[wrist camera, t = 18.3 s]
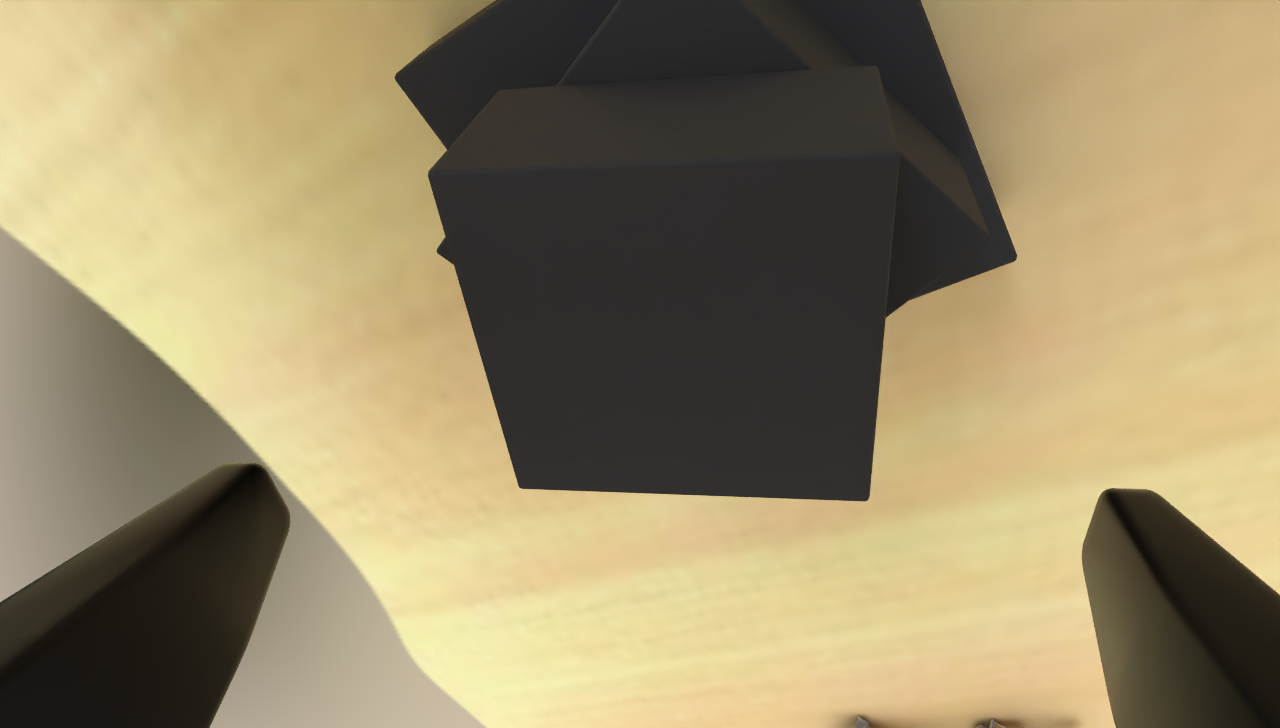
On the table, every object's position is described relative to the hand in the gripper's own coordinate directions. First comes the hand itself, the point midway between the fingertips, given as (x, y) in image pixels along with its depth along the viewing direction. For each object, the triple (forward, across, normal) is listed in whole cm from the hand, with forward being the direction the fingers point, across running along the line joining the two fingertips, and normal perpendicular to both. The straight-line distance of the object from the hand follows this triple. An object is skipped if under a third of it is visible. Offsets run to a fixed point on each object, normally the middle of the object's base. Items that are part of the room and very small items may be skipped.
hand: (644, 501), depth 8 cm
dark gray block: (+6, 0, 0) cm, 6 cm away
